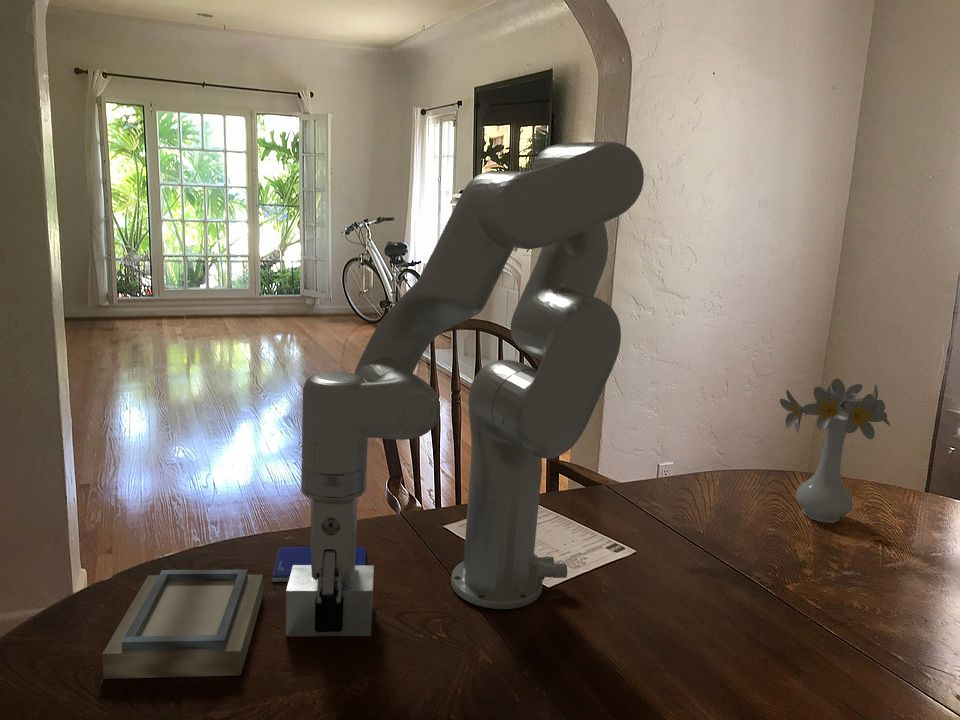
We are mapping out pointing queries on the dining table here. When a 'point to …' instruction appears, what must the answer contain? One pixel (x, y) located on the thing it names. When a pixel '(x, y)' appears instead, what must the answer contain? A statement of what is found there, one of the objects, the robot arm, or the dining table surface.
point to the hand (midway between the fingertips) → (330, 613)
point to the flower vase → (833, 444)
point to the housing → (353, 594)
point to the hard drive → (302, 560)
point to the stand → (186, 625)
